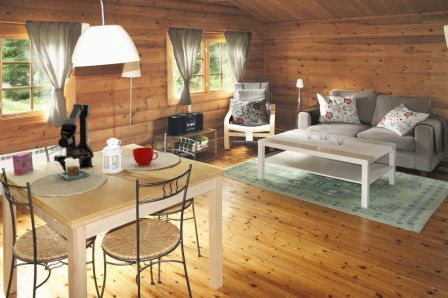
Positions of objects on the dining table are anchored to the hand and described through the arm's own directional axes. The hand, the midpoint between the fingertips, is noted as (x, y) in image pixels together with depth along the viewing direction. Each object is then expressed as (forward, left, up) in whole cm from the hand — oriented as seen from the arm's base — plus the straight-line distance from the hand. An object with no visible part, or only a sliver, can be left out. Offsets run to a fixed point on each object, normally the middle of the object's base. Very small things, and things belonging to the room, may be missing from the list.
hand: (73, 170), depth 246 cm
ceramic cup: (-45, +8, -4) cm, 46 cm away
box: (+18, -29, -4) cm, 34 cm away
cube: (0, 0, -3) cm, 3 cm away
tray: (0, 0, -4) cm, 4 cm away
